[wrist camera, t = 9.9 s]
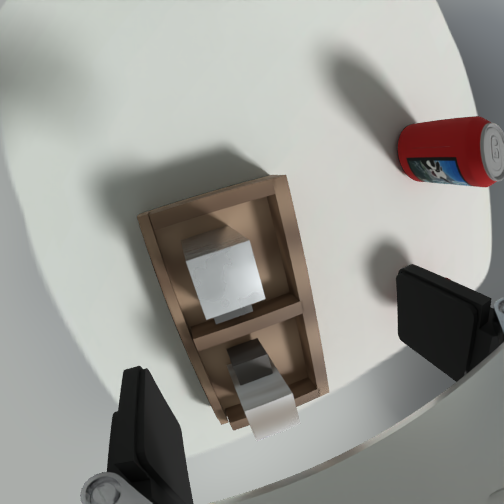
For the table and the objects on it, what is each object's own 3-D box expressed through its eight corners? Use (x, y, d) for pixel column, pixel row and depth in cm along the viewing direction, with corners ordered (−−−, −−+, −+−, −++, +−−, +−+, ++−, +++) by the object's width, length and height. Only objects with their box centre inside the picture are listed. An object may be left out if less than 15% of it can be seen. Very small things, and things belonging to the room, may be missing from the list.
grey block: (180, 240, 25) (185, 261, 18) (227, 225, 25) (249, 240, 19) (203, 308, 26) (216, 347, 20) (247, 292, 27) (273, 327, 21)
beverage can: (395, 182, 31) (481, 189, 20) (389, 122, 30) (475, 109, 18) (433, 180, 33) (513, 188, 22) (429, 126, 31) (508, 120, 20)
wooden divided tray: (138, 214, 25) (125, 229, 17) (270, 175, 28) (315, 173, 19) (214, 407, 31) (232, 466, 23) (313, 370, 34) (352, 417, 25)
